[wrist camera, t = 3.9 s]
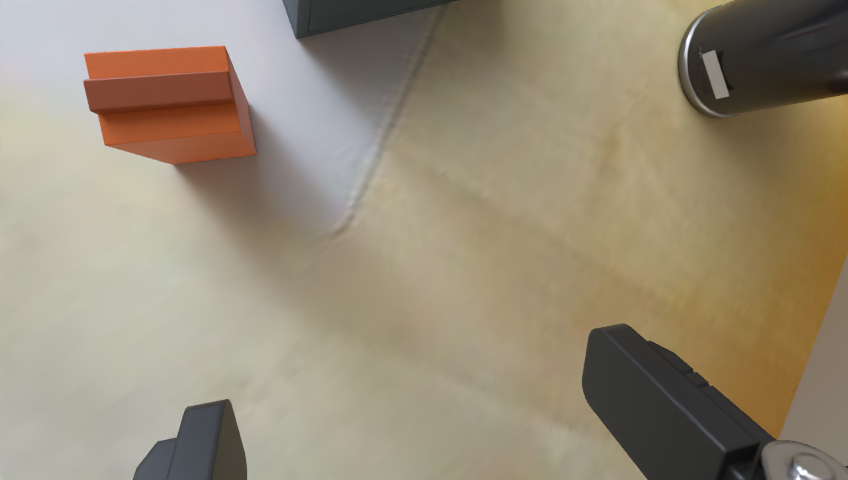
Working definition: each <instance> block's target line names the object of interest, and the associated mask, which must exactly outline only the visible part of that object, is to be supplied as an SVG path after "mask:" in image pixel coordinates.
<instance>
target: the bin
mask: <svg viewBox="0 0 848 480" xmlns="http://www.w3.org/2000/svg"><path fill="white" fill-rule="evenodd" d="M453 1H458V0H283V3H284V6H285V9H286V12H287V15H288V17H289V20H290V23H291V26H292V29H293V32H294V35H295V38H296V39H298V38H302V37H307V36H311V35H315V34H319V33H323V32H327V31H332V30H336V29H340V28H344V27H348V26H353V25H357V24H361V23H365V22H369V21H374V20H378V19H382V18H386V17H390V16H395V15H399V14H403V13H407V12H411V11H416V10H420V9H424V8H428V7H432V6H437V5H441V4H445V3H449V2H453Z"/></svg>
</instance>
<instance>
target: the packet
mask: <svg viewBox="0 0 848 480" xmlns="http://www.w3.org/2000/svg"><path fill="white" fill-rule="evenodd" d="M84 56H85V61H86V65H87V70H88V74H89V78H90V79H89V80H84V82H83V83H84V87H85V91H86V96H87V100H88V104H89V109H90V111H91V112H94V113H96V114H98V117H99V122H100V126H101V130H102V135H103V139H104V143H105V145H106V146H109V147H113V148H116V149H120V150H123V151H127V152H130V153H134V154H137V155H141V156H144V157H148V158H151V159H155V160H158V161H162V162H165V163H169V164H181V163H189V162H198V161H207V160H215V159H224V158H233V157H241V156H250V155H257V152H256V146H255V141H254V135H253V130H252V125H251V119H250V114H249V109H248V103H247V99H246V97H245V94H244V92H243V89H242V87H241V84H240V82H239V79H238V77H237V74H236V72H235V70H234V67H233V65H232V62H231V60H230V57H229V55H228V52H227V50H226V47H225V46H208V47H189V48H171V49H152V50H133V51H114V52H96V53H84Z"/></svg>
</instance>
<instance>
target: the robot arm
mask: <svg viewBox="0 0 848 480" xmlns="http://www.w3.org/2000/svg"><path fill="white" fill-rule="evenodd" d="M679 75H680V80H681V83H682V86H683V89H684V91H685V94H686V95H687V97H688V99H689V100H690V102H691V103H692V104H693V105H694V106H695V107H696V108H697V109H698V110H699V111H700V112H702V113H703V114H705V115H707V116H710V117H714V118H726V117H732V116H736V115H740V114H742V113H747V112H753V111H758V110H763V109H770V108H775V107H781V106H786V105H792V104H797V103H803V102H808V101H813V100H819V99H824V98H830V97H835V96H840V95H846V94H848V0H733V1H731V2H729V3H726V4H724V5H720V6H717V7H714V8H712V9H710V10H708V11H705V12H703V13H702V14H700V15H699V16H698V17H697V18H696V19H695V20H694V21H693V22H692V23H691V24H690V26H689V27H688V29H687V30H686V32H685V34H684V37H683V39H682V43H681V46H680V51H679ZM582 388H583V392H584V395H585V398H586V400H587V402H588V404H589V405H590V407H591V408H592V409H593V411H594V412H595V413H596V415H597V416H598V417H599V418H600V420H601V421H602V422H603V423H604V425H605V426H606V427H607V429H608V430H609V431H610V432H611V434H612V435H613V436H614V437H615V439H616V440H617V441H618V443H619V444H620V445H621V446H622V448H623V449H624V450H625V451H626V453H627V454H628V455H629V457H630V458H631V459H632V460H633V462H634V463H635V464H636V465H637V467H638V468H639V469H640V471H641V472H642V473H643V474H644V476H645V477H646V478H647V479H648V480H848V466H844V465H843V464H842V463H840V462H839V461H838V460H836V459H835V458H833V457H832V456H830V455H828V454H826V453H825V452H823V451H821V450H819V449H817V448H815V447H812V446H809V445H807V444H803V443H800V442H795V441H790V440H776V439H775V438H773V437H772V436H771V435H770V434H768V433H767V432H766V431H765V430H764V429H763V428H761V427H760V426H759V425H758V424H757V423H756V422H754V421H753V420H752V419H751V418H750V417H749V416H747V415H746V414H745V413H744V412H743V411H742V410H740V409H739V408H738V407H737V406H736V405H735V404H733V403H732V402H731V401H730V400H729V399H727V398H726V397H725V396H724V395H723V394H722V393H720V392H719V391H718V390H717V389H716V388H715V387H713V386H709V384H708V381H706V380H705V379H704V378H703V377H702V376H701V375H699V374H698V373H697V372H695V373H694V372H693V369H692V368H691V367H690V366H689V365H688V364H687V363H685V362H684V361H683V360H682V359H681V358H679V357H678V356H677V355H676V354H675V353H673V352H671V351H669V350H667V349H666V348H664V347H662V346H660V345H658V344H656V343H654V342H652V341H646V340H645V339H644V338H643V337H642V336H640V335H639V334H638V333H637V332H636V331H635V330H634V329H633V328H631V327H630V326H629V325H627V324H617V325H612V326H607V327H601V328H596V329H593V330H592V331H591V332H590V334H589V338H588V344H587V351H586V357H585V363H584V369H583V376H582ZM133 480H247V464H246V457H245V452H244V448H243V444H242V441H241V437H240V433H239V430H238V426H237V422H236V419H235V415H234V411H233V408H232V404H231V402H230V400H229V399H225V400H220V401H215V402H210V403H205V404H200V405H194V406H189V407H187V408H186V409H185V411H184V414H183V418H182V421H181V425H180V429H179V432H178V436H177V438H172V439H167V440H163V441H158V442H157V443H156V444H155V445H154V447H153V448H152V449H151V450H150V452H149V453H148V454H147V456H146V457H145V458H144V459H143V461H142V462H141V463H140V464H139V466H138V467H137V469H136V471H135V474H134V477H133Z"/></svg>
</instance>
